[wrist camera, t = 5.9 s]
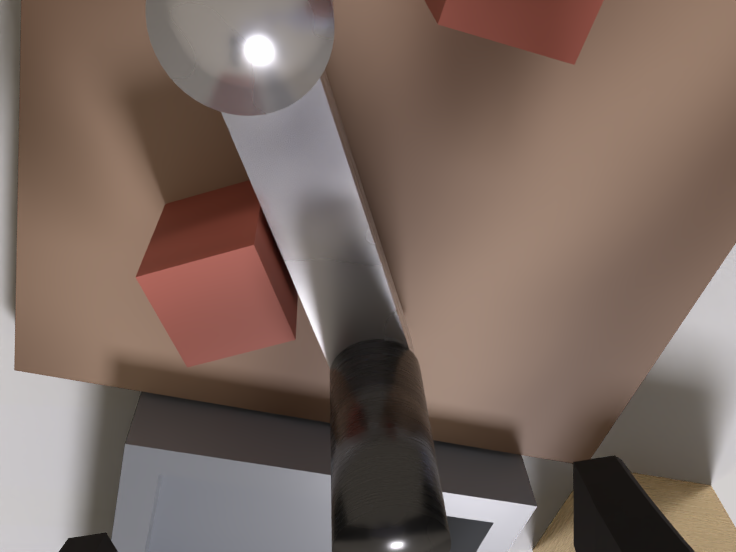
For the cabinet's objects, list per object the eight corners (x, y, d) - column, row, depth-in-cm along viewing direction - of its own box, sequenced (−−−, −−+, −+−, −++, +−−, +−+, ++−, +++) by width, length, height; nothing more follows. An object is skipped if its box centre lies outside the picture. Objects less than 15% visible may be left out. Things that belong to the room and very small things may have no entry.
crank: (439, 346, 15) (486, 564, 11) (326, 375, 15) (327, 598, 11) (301, -116, 10) (286, -64, 6) (138, -60, 10) (1, 30, 6)
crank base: (863, -17, 12) (1028, 33, 10) (574, 436, 19) (620, 551, 16) (52, -306, 10) (-64, -360, 7) (30, 341, 16) (-35, 458, 13)
